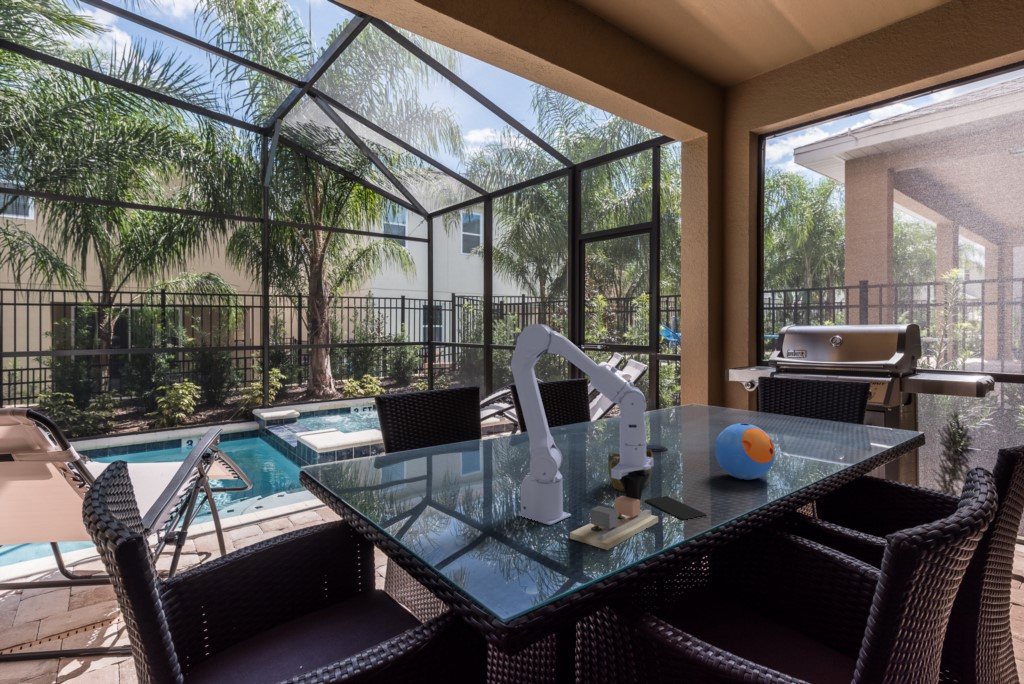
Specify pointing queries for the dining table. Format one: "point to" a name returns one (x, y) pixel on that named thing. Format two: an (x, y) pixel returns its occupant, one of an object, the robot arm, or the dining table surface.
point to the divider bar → (623, 525)
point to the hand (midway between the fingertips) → (633, 504)
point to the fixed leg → (604, 517)
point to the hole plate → (590, 536)
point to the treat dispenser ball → (744, 451)
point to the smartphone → (675, 508)
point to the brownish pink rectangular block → (627, 506)
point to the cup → (614, 460)
